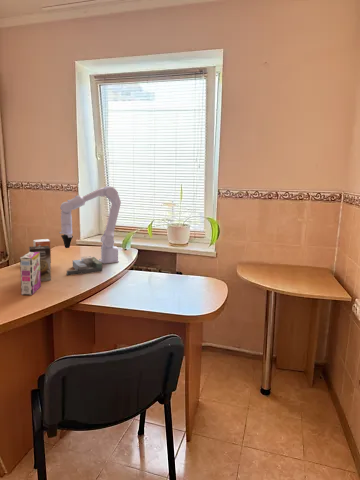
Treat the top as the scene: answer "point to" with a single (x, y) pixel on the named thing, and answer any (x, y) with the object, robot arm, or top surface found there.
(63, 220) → the robot arm
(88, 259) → the steel block
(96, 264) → the vise
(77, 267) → the grey rectangular bar
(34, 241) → the small box
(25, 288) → the candy bar box
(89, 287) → the top surface
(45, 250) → the coffee box
